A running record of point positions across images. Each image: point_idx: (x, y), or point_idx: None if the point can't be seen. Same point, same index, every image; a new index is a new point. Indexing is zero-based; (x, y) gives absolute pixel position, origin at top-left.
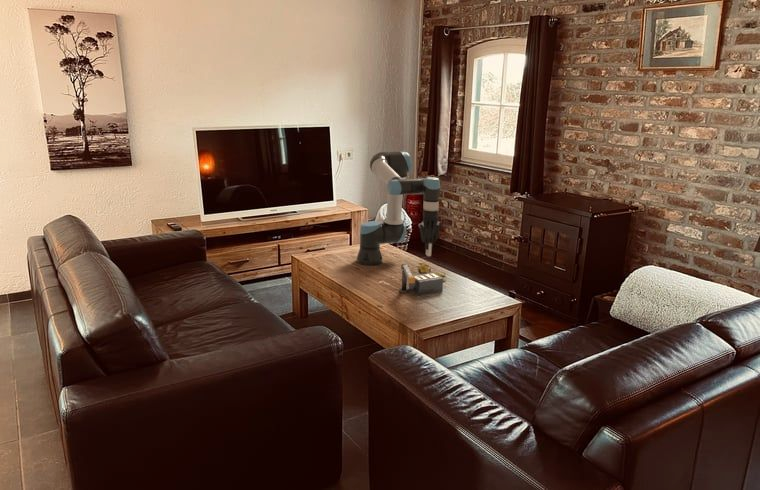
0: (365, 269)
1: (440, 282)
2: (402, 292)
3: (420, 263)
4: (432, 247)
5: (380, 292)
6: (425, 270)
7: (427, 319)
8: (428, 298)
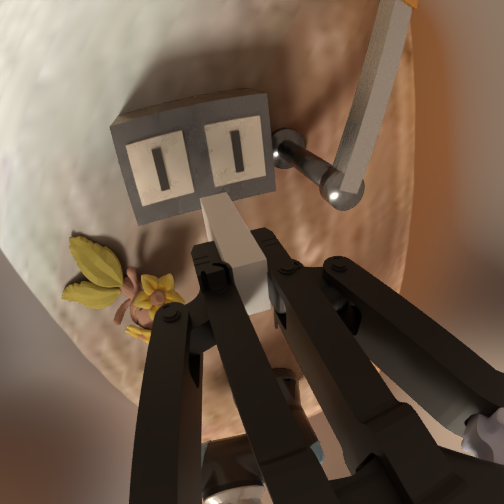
0: None
1: (128, 118)
2: (297, 132)
3: None
4: (196, 255)
5: None
6: (151, 284)
7: None
8: (219, 44)
